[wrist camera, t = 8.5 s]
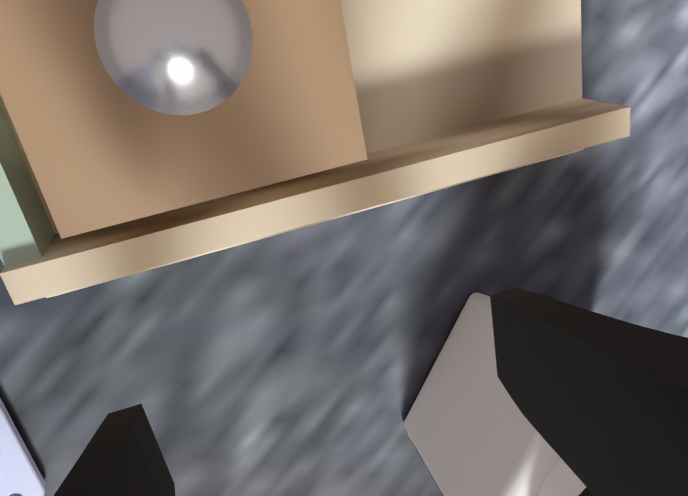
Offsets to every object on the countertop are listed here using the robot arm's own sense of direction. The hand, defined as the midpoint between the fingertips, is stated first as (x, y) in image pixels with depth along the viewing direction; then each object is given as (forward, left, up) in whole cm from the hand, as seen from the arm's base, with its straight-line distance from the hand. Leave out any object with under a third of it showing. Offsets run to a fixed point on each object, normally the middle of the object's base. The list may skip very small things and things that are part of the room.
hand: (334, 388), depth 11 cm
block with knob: (-1, +7, -9) cm, 12 cm away
